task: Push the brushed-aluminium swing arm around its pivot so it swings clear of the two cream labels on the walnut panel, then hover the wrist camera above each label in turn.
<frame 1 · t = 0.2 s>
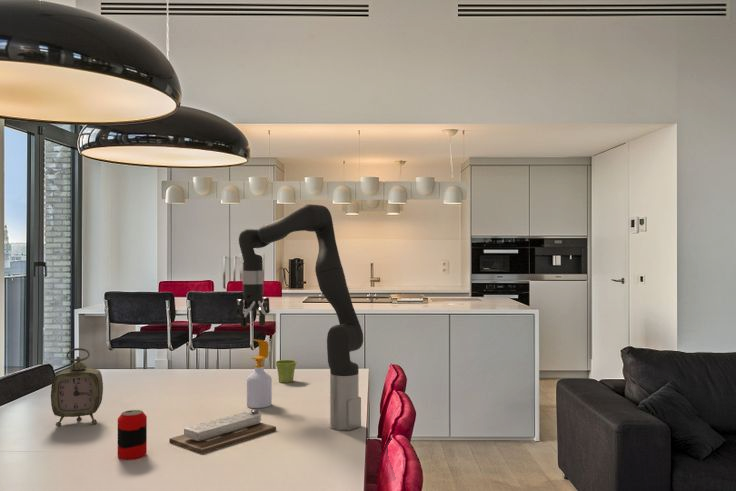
hand: (253, 326, 222), 29 cm above the table, fingers open, 8 cm apart
soda can: (132, 456, 167), on the table
plant pot: (286, 381, 261), on the table
tabletop clock: (78, 424, 198), on the table
swing arm: (227, 423, 185), point 4 cm above the table, hinge at 0.0°
soap bottle: (259, 405, 220), on the table
label panel: (224, 436, 184), on the table
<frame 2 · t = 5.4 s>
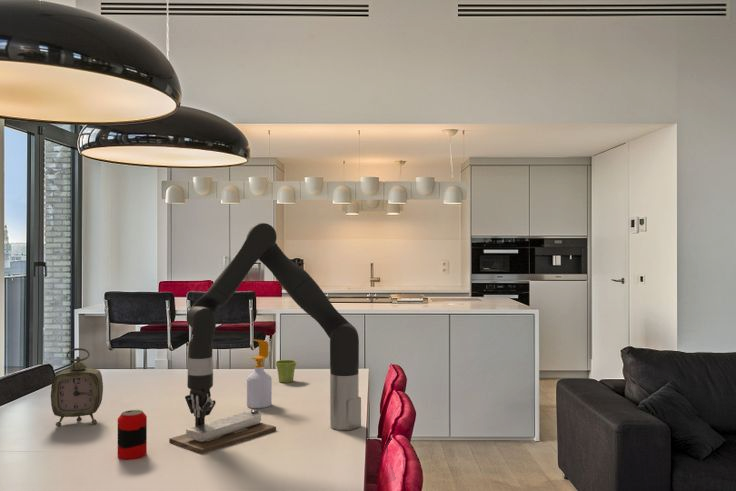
hand: (199, 428, 182), 3 cm above the table, fingers closed
swing arm: (228, 423, 184), point 4 cm above the table, hinge at 3.3°, touching gripper
everything else where it was.
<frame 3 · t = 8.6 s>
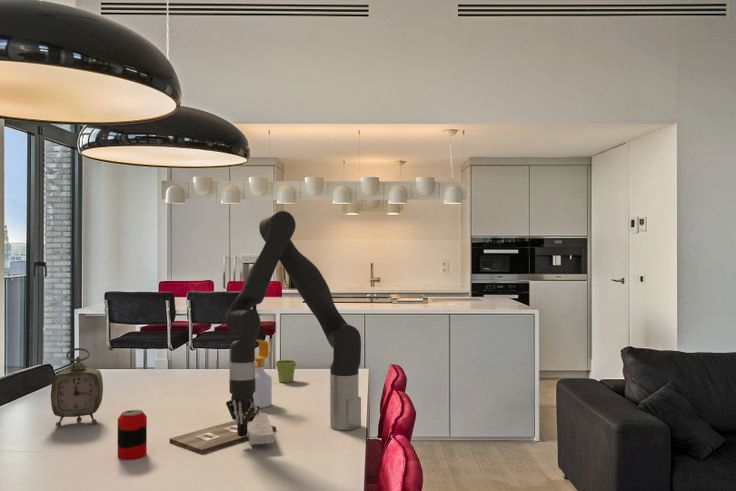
hand: (242, 435, 175), 3 cm above the table, fingers closed
swing arm: (257, 425, 182), point 4 cm above the table, hinge at 54.7°, touching gripper
everything else where it was.
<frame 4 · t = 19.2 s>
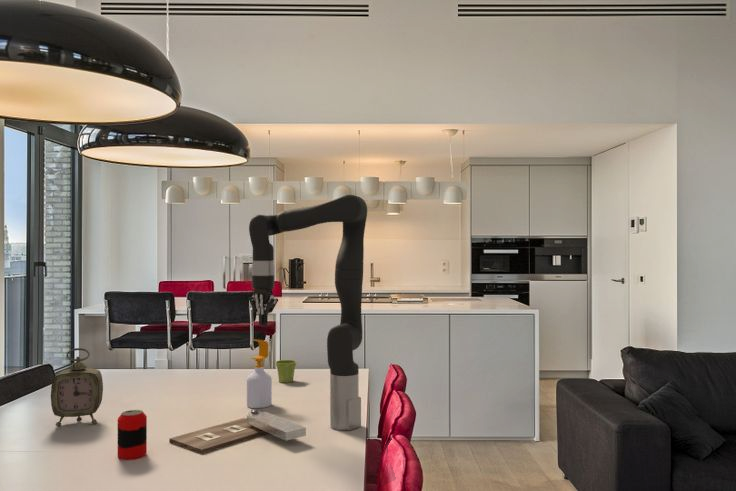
hand: (263, 325, 201), 32 cm above the table, fingers closed
swing arm: (272, 423, 185), point 4 cm above the table, hinge at 79.6°
everything else where it was.
at the end: swing arm at +80° (first picture: +0°); soda can moved 0.2 cm from its start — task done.
